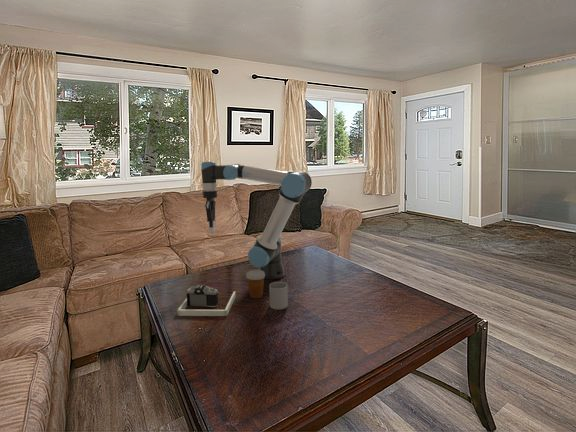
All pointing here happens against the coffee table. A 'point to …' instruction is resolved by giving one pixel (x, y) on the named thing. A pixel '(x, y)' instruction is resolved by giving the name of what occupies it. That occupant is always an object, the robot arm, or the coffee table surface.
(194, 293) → the camera
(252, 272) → the disposable coffee cup
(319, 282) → the coffee table surface
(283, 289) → the cup
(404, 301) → the coffee table surface
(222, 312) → the docking bay
